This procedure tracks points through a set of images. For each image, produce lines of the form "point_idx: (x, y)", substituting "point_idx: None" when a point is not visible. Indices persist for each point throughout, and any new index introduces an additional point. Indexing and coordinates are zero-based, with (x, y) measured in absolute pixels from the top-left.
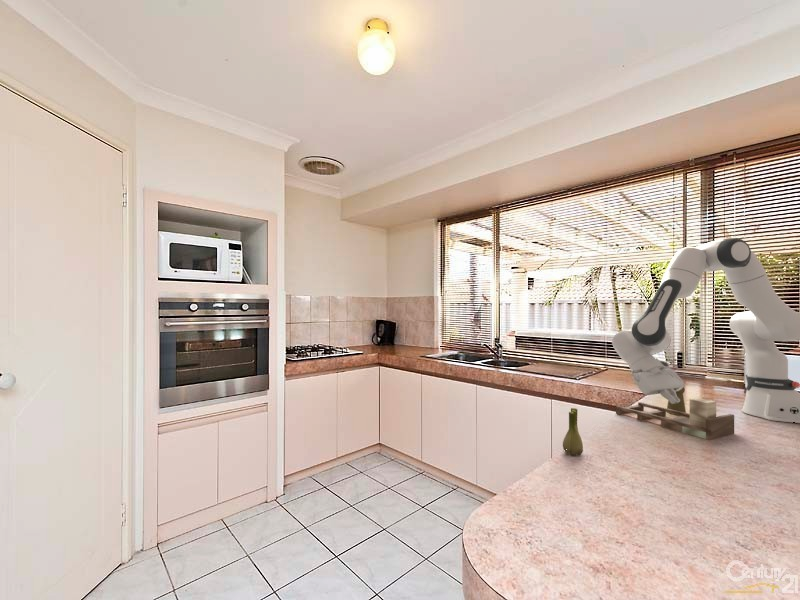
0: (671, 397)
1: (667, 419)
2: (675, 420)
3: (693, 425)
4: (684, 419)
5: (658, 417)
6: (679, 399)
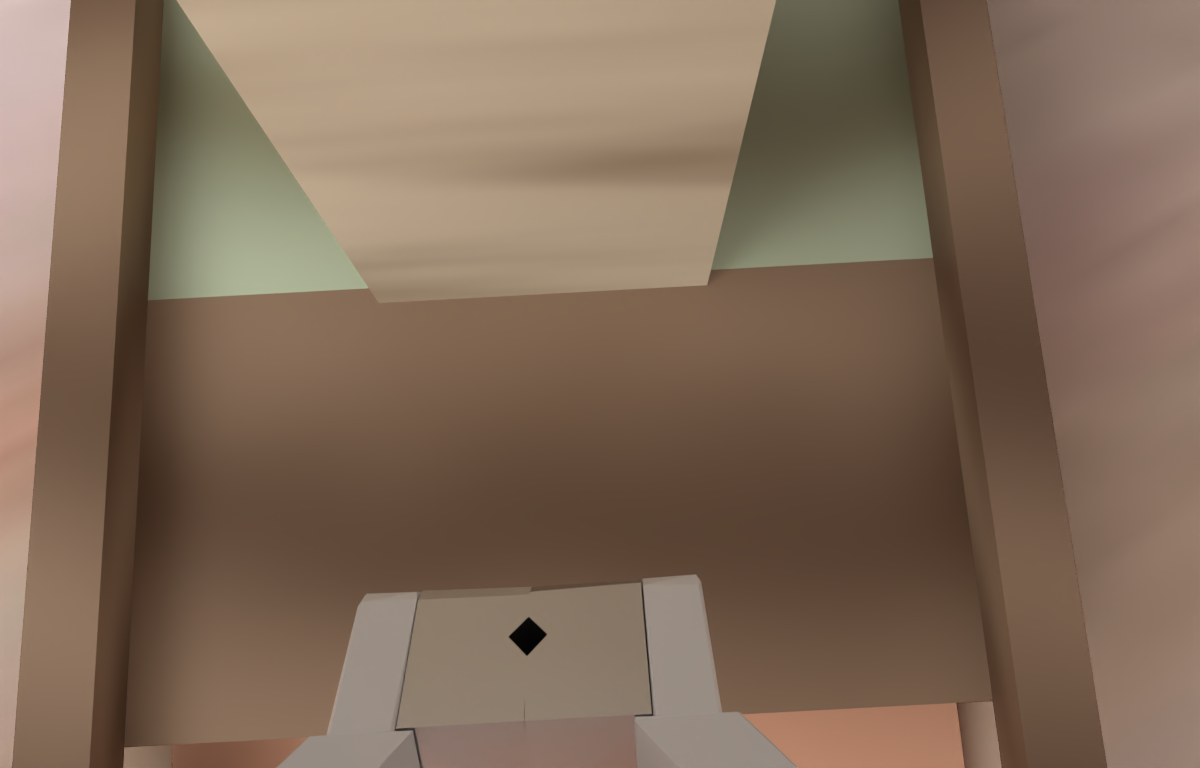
0: (724, 727)
1: (1066, 539)
2: (992, 395)
3: (970, 43)
4: (438, 543)
5: (1095, 763)
6: (382, 609)
